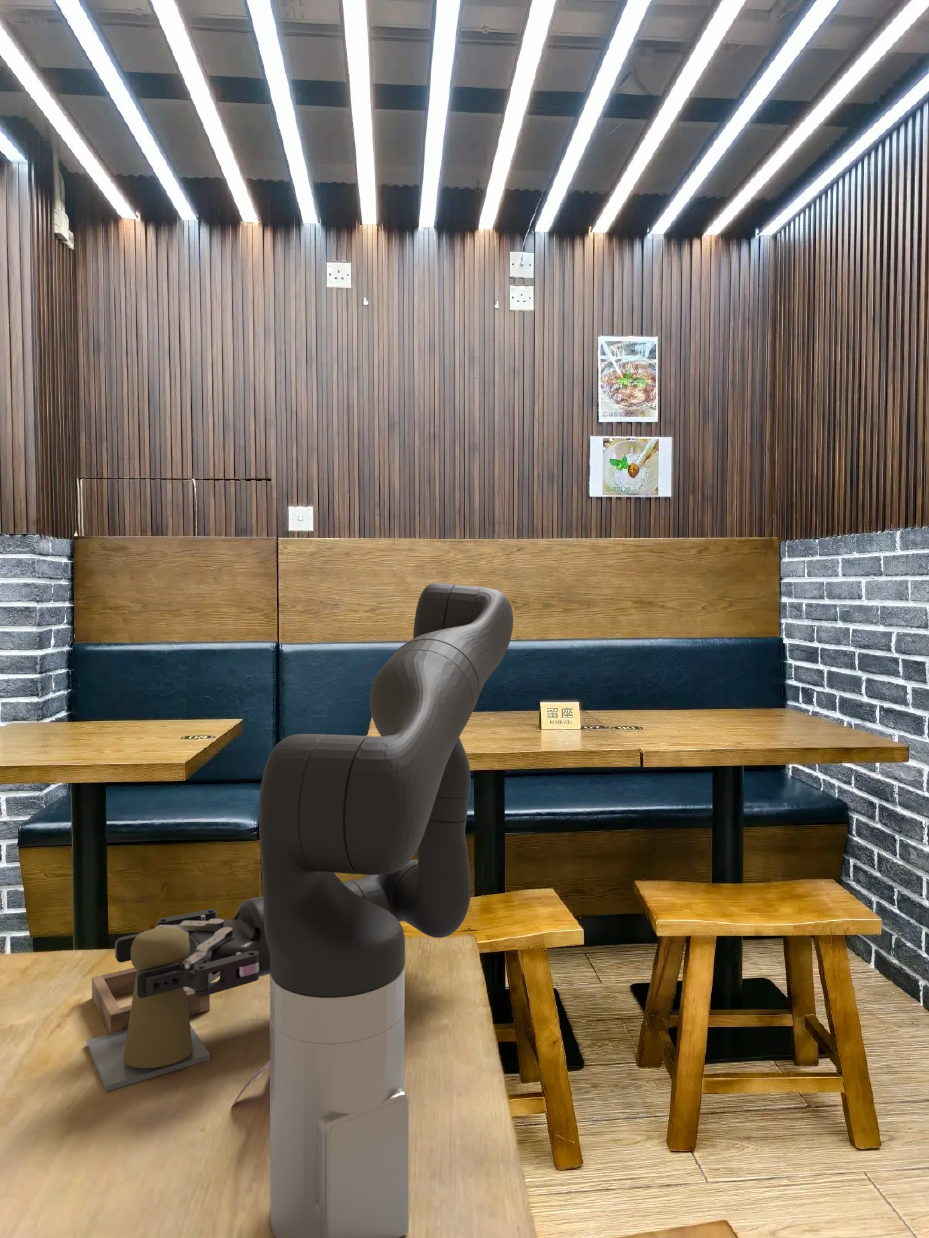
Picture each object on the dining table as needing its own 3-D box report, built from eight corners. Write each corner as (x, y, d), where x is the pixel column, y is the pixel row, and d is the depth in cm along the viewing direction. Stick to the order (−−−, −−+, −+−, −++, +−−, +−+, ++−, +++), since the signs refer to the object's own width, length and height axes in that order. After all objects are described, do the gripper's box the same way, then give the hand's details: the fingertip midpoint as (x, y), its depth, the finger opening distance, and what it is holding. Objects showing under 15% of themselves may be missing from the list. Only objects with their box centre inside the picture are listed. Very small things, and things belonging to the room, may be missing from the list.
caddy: (209, 1010, 86) (209, 989, 86) (110, 1037, 81) (110, 1014, 81) (183, 975, 94) (183, 955, 94) (92, 997, 89) (91, 977, 88)
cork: (204, 1040, 79) (205, 921, 80) (174, 1069, 73) (177, 940, 74) (143, 1038, 80) (146, 920, 81) (109, 1066, 74) (112, 938, 75)
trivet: (210, 1059, 77) (210, 1054, 77) (106, 1091, 72) (106, 1085, 72) (182, 1018, 84) (182, 1013, 84) (86, 1045, 79) (86, 1039, 79)
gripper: (265, 873, 92) (108, 903, 82) (320, 914, 80) (144, 954, 71) (266, 940, 92) (109, 978, 83) (320, 991, 80) (144, 1041, 71)
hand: (125, 967), depth 77 cm, fingers open, 8 cm apart
